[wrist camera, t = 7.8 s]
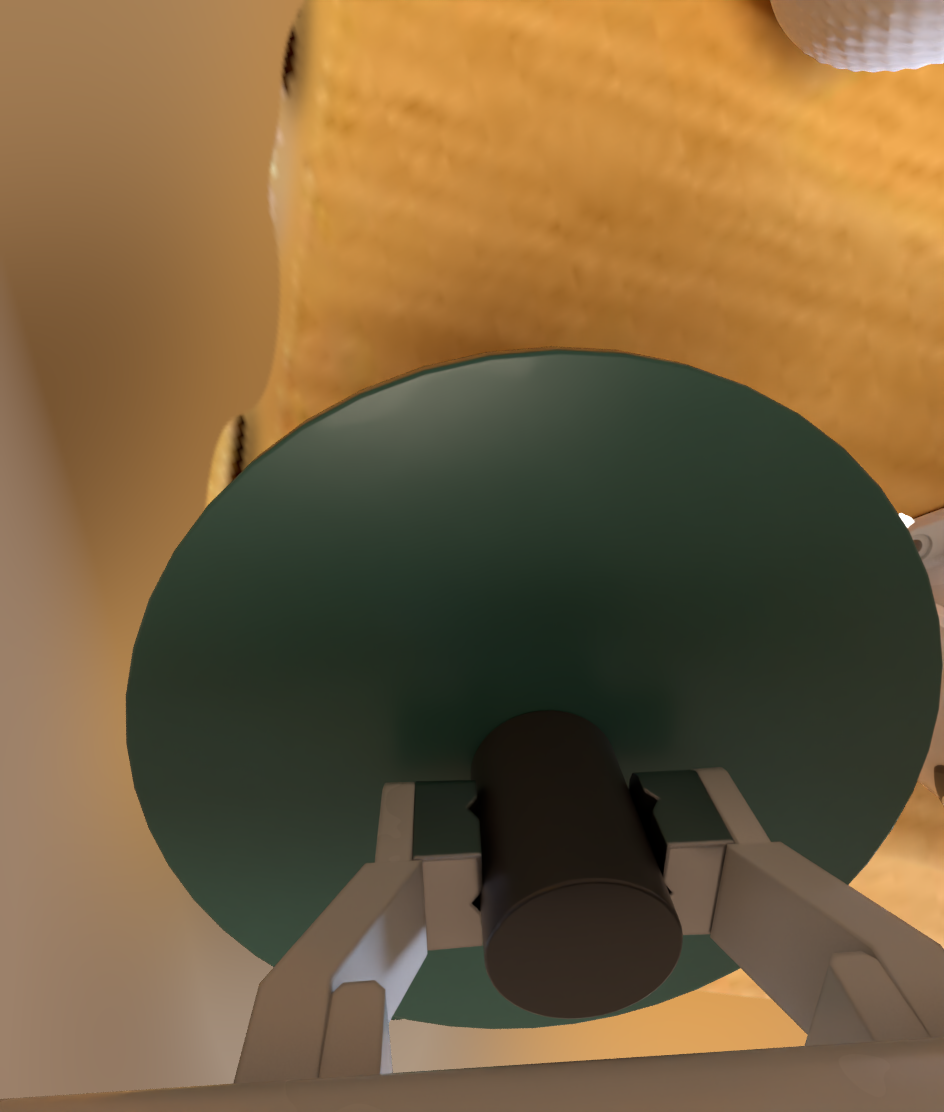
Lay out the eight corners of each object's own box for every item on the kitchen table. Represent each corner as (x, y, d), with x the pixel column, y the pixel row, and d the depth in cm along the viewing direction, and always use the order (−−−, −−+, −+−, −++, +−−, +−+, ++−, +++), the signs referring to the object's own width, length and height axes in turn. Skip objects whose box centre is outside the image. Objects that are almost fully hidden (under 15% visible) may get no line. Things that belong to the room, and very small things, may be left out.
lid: (454, 121, 9) (473, -46, 4) (1047, 649, 13) (1370, 836, 8) (23, 805, 13) (-191, 1071, 8) (575, 1049, 17) (625, 1319, 12)
